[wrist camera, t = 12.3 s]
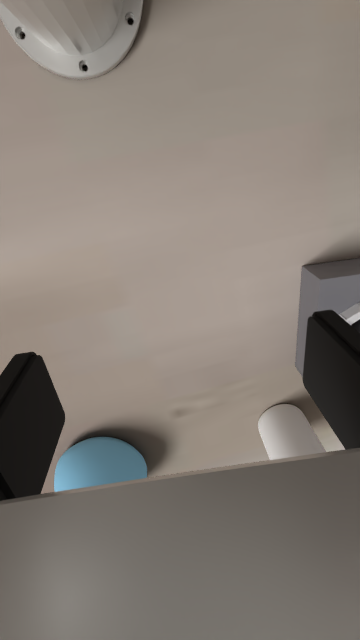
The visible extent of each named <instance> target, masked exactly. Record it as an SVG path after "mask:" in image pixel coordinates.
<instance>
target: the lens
mask: <svg viewBox="0 0 360 640" xmlns="http://www.w3.org/2000/svg"><path fill="white" fill-rule="evenodd" d="M351 326H352V327H353V328H355V329H356V330H357V331H358V332H359V333H360V319H359V320H358V321H356V322H354V323H353V324H352V325H351Z"/></svg>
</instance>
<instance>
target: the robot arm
mask: <svg viewBox="0 0 360 640" xmlns="http://www.w3.org/2000/svg"><path fill="white" fill-rule="evenodd" d="M142 8H143V0H0V18H1V20H2V22H3V24H4V26H5V28H6V29H7V31H8V32H9V34H10V35H11V36H12V38H13V39H14V41H15V42H16V43H17V45H18V46H19V47H20V48H21V49H22V50H23V51H24V52H25V53H26V54H27V55H28V56H29V57H30V58H31V59H33V60H34V61H35V62H36V63H37V64H39V65H40V66H42V67H44V68H45V69H47V70H48V71H50V72H52V73H54V74H57V75H59V76H62V77H65V78H70V79H77V80H82V79H92V78H95V77H98V76H101V75H104V74H105V73H107V72H108V71H110V70H112V69H113V68H115V67H116V66H117V65H118V64H119V63H120V62H121V61H122V60H123V59H124V57H125V56H126V54H127V53H128V51H129V50H130V48H131V47H132V45H133V42H134V40H135V37H136V35H137V33H138V29H139V25H140V21H141V17H142ZM129 19H132V20H133V24H132V25H129V24H128V20H129ZM23 33H25V35H26V36H25V39H22V38H21V35H22V34H23ZM84 65H87V67H88V70H87V71H83V66H84ZM303 383H304V386H305V388H306V390H307V391H308V393H309V394H310V396H311V397H312V399H313V400H314V402H315V403H316V405H317V406H318V408H319V409H320V411H321V412H322V414H323V416H324V417H325V419H326V420H327V422H328V423H329V425H330V426H331V428H332V429H333V431H334V432H335V434H336V435H337V437H338V438H339V440H340V442H341V443H342V445H343V446H344V448H345V449H346V450H339V451H331V452H324V453H317V454H309V455H302V456H295V457H288V458H281V459H274V460H267V461H260V462H253V463H245V464H238V465H232V466H225V467H218V468H211V469H204V470H197V471H190V472H184V473H177V474H170V475H163V476H156V477H150V478H143V479H136V480H129V481H123V482H116V483H110V484H103V485H97V486H90V487H83V488H77V489H70V490H64V491H57V492H51V493H44V494H41V491H42V488H43V485H44V482H45V479H46V476H47V473H48V470H49V467H50V464H51V461H52V458H53V455H54V452H55V449H56V446H57V443H58V440H59V437H60V434H61V431H62V428H63V425H64V422H65V413H64V410H63V408H62V405H61V403H60V400H59V398H58V395H57V393H56V390H55V388H54V385H53V383H52V380H51V378H50V376H49V373H48V371H47V368H46V366H45V363H44V361H43V358H42V357H41V356H40V355H36V353H34V352H28V353H21V354H16V355H15V356H14V357H13V358H12V359H11V361H10V362H9V364H8V365H7V367H6V368H5V369H4V371H3V372H2V374H1V375H0V640H360V333H359V332H358V331H357V330H356V329H355V328H353V327H352V326H351V325H350V324H349V323H348V322H346V321H345V320H344V319H343V318H342V317H341V316H339V315H338V314H337V313H336V312H335V311H333V310H332V309H331V310H323V311H316V312H314V313H313V315H312V316H310V317H309V318H308V321H307V332H306V344H305V356H304V368H303Z"/></svg>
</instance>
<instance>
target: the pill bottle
mask: <svg viewBox="0 0 360 640" xmlns="http://www.w3.org/2000/svg"><path fill="white" fill-rule="evenodd" d="M258 429H259V433H260V435H261V438H262V440H263V443H264V445H265V448H266V451H267V453H268V456H269V458H270V460H274V459H281V458H288V457H295V456H302V455H309V454H317V453H324V452H326V451H325V449H324V447H323V446H322V444H321V442H320V441H319V439H318V437H317V435H316V434H315V432H314V430H313V429H312V427H311V425H310V424H309V422H308V420H307V419H306V417H305V415H304V414H303V412H302V411H301V410H300V409H299V408H298V407H296V406H294V405H290V404H280V405H276V406H273V407H271V408H269V409H268V410H266V411H265V412H264V413H263V414H262V415H261V417H260V419H259V422H258Z"/></svg>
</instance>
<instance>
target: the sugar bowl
mask: <svg viewBox="0 0 360 640" xmlns="http://www.w3.org/2000/svg"><path fill="white" fill-rule="evenodd" d="M143 478H147V466H146V463H145V460H144V458H143V457H142V455H141V454H140V453H139V452H138V451H137V450H136V449H135V448H134V447H133V446H131V445H130V444H128V443H127V442H125V441H122V440H120V439H117V438H112V437H94V438H89V439H86V440H84V441H81V442H79V443H77V444H75V445H74V446H72V447H70V448H69V449H68V450H67V451H66V452H65V453H64V454H63V455H62V456H61V458H60V459H59V461H58V463H57V466H56V470H55V478H54V489H55V492H57V491H64V490H70V489H77V488H83V487H90V486H97V485H103V484H110V483H116V482H123V481H129V480H136V479H143Z"/></svg>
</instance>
